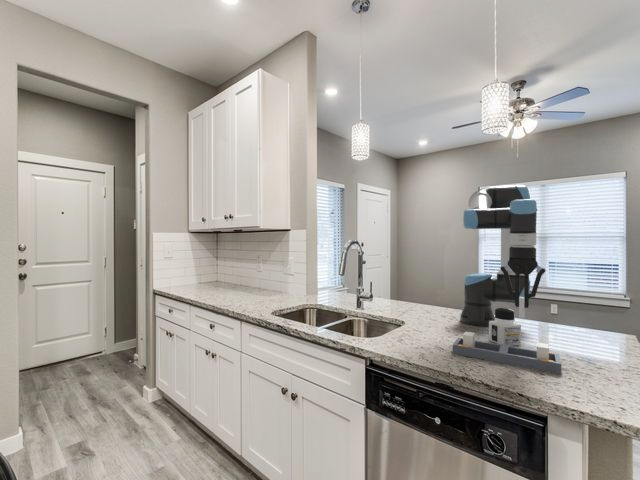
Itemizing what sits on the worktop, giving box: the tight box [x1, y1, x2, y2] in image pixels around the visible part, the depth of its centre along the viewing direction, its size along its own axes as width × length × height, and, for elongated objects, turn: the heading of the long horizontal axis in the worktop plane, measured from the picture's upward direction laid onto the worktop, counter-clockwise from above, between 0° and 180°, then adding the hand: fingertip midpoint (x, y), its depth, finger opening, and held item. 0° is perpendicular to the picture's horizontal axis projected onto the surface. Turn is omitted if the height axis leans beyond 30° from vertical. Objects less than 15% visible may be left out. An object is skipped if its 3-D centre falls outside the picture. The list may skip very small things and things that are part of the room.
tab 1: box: [462, 331, 476, 347], centre depth 112 cm, size 5×3×5 cm, turn 146°
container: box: [488, 307, 522, 347], centre depth 122 cm, size 8×8×13 cm
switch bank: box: [452, 337, 562, 375], centre depth 106 cm, size 10×30×3 cm, turn 56°
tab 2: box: [536, 341, 550, 360], centre depth 100 cm, size 5×3×5 cm, turn 146°
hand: (521, 316), depth 107 cm, fingers closed
